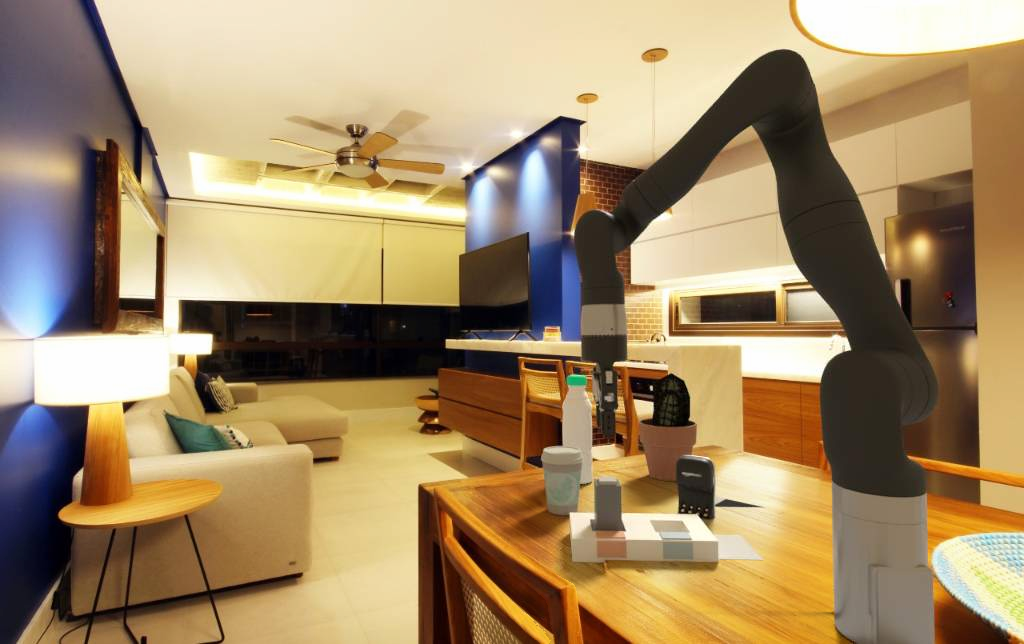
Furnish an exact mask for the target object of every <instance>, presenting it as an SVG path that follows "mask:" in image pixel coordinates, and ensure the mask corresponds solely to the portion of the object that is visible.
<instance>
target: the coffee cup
mask: <svg viewBox="0 0 1024 644" xmlns="http://www.w3.org/2000/svg"><path fill="white" fill-rule="evenodd" d="M540 457H541V458H540V461H541V462H542V469H543V470H542V471H543V479H544V486H545V488H544V489H545V495H546V504H547V510H548V511H547V512H549V513H550V514H554V515H556V514H557V515H558V516H570V512H572V513H578V508H579V500H580V498H579V497H580V487H581V485H580V480H581V469H582V462H583V461H584V459H583V455H582V452H581V450H580V449H579V448H576V447H570V446H563V445H555V446H554V445H553V446H548V447H545V448H543V450H542V454H541V456H540ZM557 515H556V516H557Z"/></svg>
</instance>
